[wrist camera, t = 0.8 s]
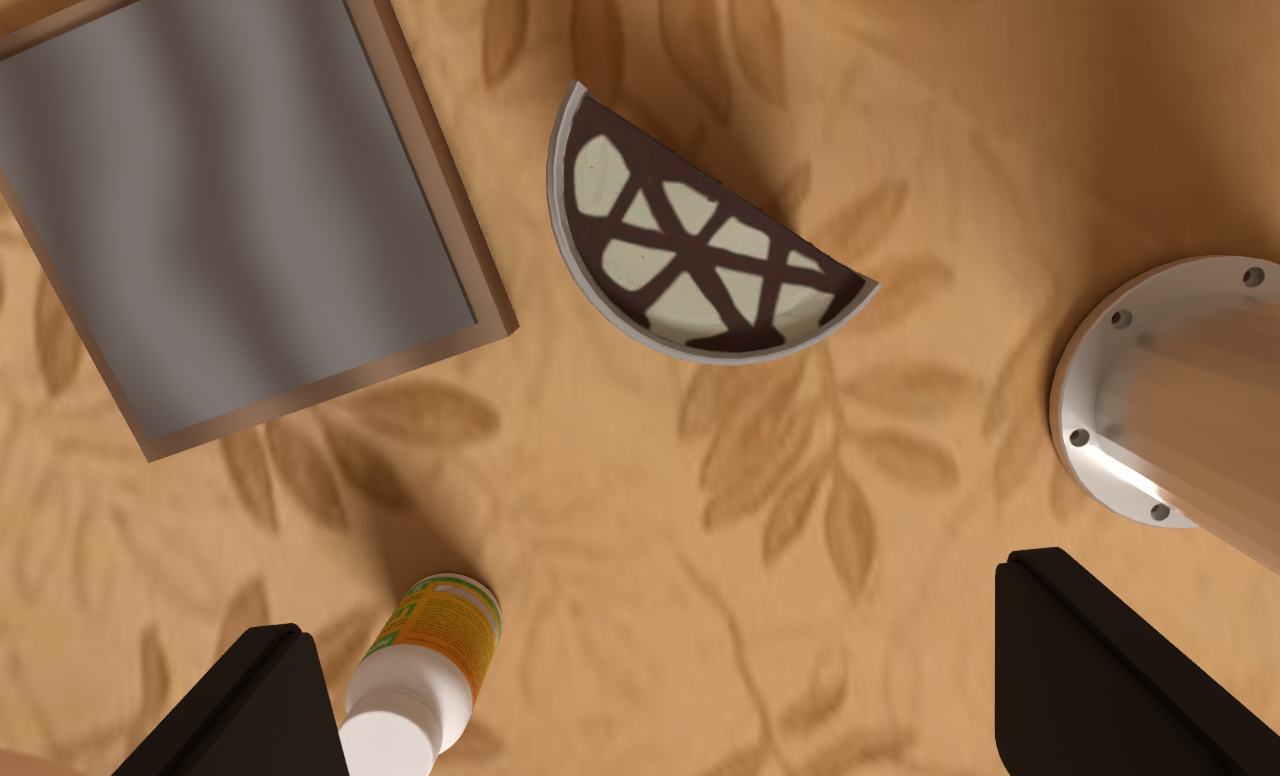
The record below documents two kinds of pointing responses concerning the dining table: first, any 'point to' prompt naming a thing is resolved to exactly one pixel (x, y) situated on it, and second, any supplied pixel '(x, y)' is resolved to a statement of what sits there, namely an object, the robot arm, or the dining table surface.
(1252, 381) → the robot arm
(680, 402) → the dining table surface
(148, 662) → the dining table surface
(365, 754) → the supplement bottle
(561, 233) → the food container
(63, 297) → the podium
